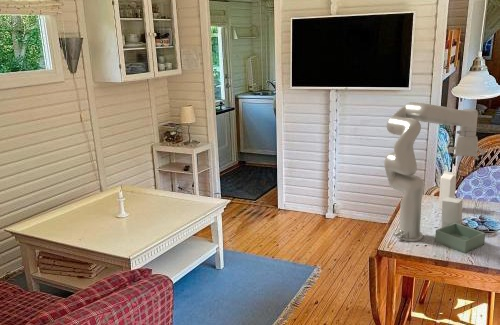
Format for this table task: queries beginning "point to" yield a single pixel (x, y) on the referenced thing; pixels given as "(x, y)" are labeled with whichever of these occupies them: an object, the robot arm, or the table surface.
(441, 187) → the milk
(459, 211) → the skincare box
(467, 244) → the tote
